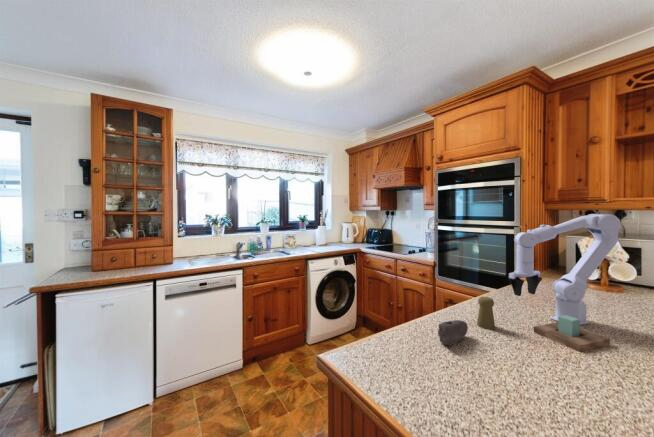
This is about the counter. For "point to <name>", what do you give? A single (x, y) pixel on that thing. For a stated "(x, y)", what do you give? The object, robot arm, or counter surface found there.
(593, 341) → the walnut socket block
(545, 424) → the counter surface
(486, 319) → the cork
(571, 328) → the teal peg
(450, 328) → the perforated stone tool
